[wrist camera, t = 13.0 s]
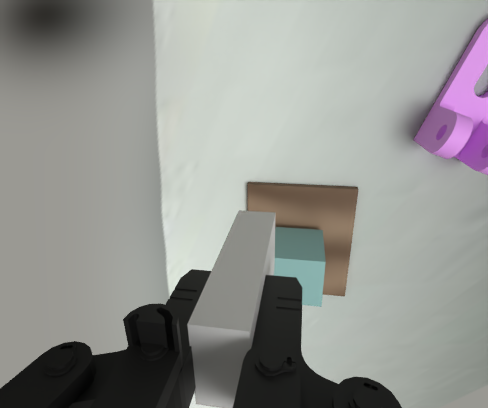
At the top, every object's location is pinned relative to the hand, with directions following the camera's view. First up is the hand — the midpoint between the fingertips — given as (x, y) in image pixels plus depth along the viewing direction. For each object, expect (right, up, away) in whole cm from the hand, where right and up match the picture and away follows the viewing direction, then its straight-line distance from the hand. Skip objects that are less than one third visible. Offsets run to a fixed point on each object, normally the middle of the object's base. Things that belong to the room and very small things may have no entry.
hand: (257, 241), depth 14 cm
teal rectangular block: (+6, -4, +25) cm, 26 cm away
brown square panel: (+6, -3, +27) cm, 27 cm away
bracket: (+21, +13, +18) cm, 30 cm away
